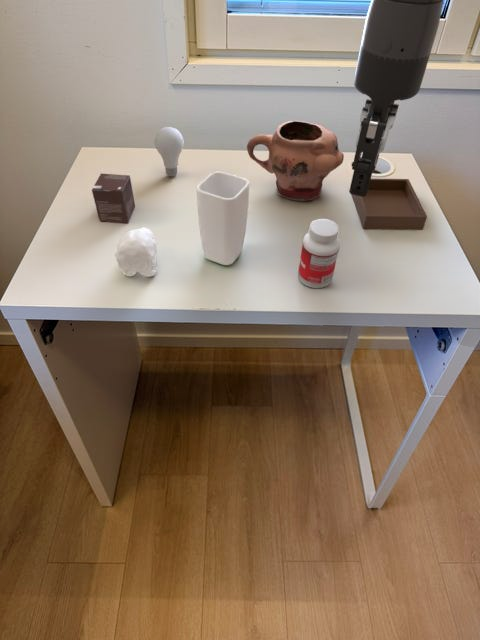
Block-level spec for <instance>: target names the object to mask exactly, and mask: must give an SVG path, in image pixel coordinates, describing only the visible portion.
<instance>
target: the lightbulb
mask: <svg viewBox="0 0 480 640" xmlns="http://www.w3.org/2000/svg"><path fill="white" fill-rule="evenodd" d="M184 144H185V143H184V138H183V135H182V134H181V132H180V131H179V130H178V129H177V128H174V127H171V126H166V127H162V128H161V129H159V130H158V131H157V132H156V134H155V137H154V146H155V149H156V150H157V153H158V154H159V155H160V157H161V159H162V161H163V166H164V167H165V173H166V175H167V176H169V177H171V178H173V177H174V176H176V175H178V167H179V159H180V158H179V157H180V155H181V153H182V152H183V151H182V150H183V149H184Z"/></svg>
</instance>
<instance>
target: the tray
mask: <svg viewBox="0 0 480 640" xmlns="http://www.w3.org/2000/svg"><path fill="white" fill-rule="evenodd" d="M351 197H352V200H353V203H354V206H355V209H356V212H357V215H358V219H359V222H360V225H361V227H362V229H363V230H411V231H413V230H415V231H422V230H423V229H424V226H425V224H426V222H427V219H428V215H427V213H426V211H425V209H424V206H423V205H422V203H421V201H420V199H419V197H418V195H417V193H416V191H415V189H414V187H413V185H412V183H411V181H410V179H409V178H377V177H375V178H374V177H371V180H370V184H369V187H368V191H367V194H366V196H364V197H361V196H357V195H352V194H351Z"/></svg>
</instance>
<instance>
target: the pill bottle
mask: <svg viewBox="0 0 480 640" xmlns="http://www.w3.org/2000/svg"><path fill="white" fill-rule="evenodd" d="M339 231H340V228H339V225H338V224H337V223H336V222H335V221H333V220H331V219H328V218H316V219H314V220H313V221H311V222H310V225H309V229H308V232H307V233H306V234H305V235H304V237H303V240H302V246H301V251H300V257H299V264H298V270H297V277H298V280H299V281H300V282H301V284H303V285H304V286H306V287H308V288H311V289H313V288H314V289H322V288H323V289H324V288H326V287H327V286H328V285H330V284H331V282H332V281H333V278H334V273H335V268H336V264H337V260H338V256H339V252H340V248H341V247H340V246H341V241H340V239H339V237H338V236H339Z"/></svg>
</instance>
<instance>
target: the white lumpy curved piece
mask: <svg viewBox="0 0 480 640" xmlns="http://www.w3.org/2000/svg"><path fill="white" fill-rule="evenodd" d="M114 255H115V259H116V260H115V261H116V262H117V264H118V267H119V268H120V269H121V270H122V274H123V275H124V276H126V277H133V276H135V275H137V273H139V274H140V275H142V276H143V277H147V278H150V277H153V276H156V274H157V270H155V269H153V268H152V267H156V266H157V244H156V241H155V236H154V233H153V231H152V230H151V229H149V228H148V227H144V226H143V227H142V226H141V227H139V228H136V229H135V228H134V229H130V230H129V231H127V232H126V233H125V234H124V235H123V236H122V237H120V239H119V241H118V243H117V246H116V252H115V254H114Z"/></svg>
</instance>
